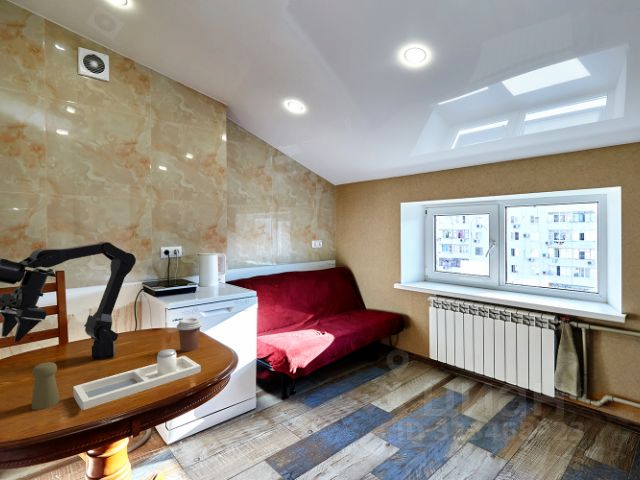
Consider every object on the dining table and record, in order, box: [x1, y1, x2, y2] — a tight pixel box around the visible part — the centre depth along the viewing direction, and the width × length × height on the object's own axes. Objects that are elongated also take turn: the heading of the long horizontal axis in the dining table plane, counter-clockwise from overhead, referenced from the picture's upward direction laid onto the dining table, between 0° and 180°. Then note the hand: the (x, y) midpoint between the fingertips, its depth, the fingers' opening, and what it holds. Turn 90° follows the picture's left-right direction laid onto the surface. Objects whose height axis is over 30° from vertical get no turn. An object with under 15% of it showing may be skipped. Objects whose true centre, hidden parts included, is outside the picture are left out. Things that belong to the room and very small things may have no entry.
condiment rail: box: [72, 355, 202, 411], centre depth 103 cm, size 32×12×3 cm, turn 136°
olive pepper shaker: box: [30, 361, 61, 411], centre depth 92 cm, size 6×6×11 cm
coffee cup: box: [176, 317, 203, 352], centre depth 131 cm, size 9×9×12 cm
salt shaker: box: [156, 348, 177, 377], centre depth 108 cm, size 6×6×7 cm
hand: (9, 339), depth 101 cm, fingers open, 9 cm apart
